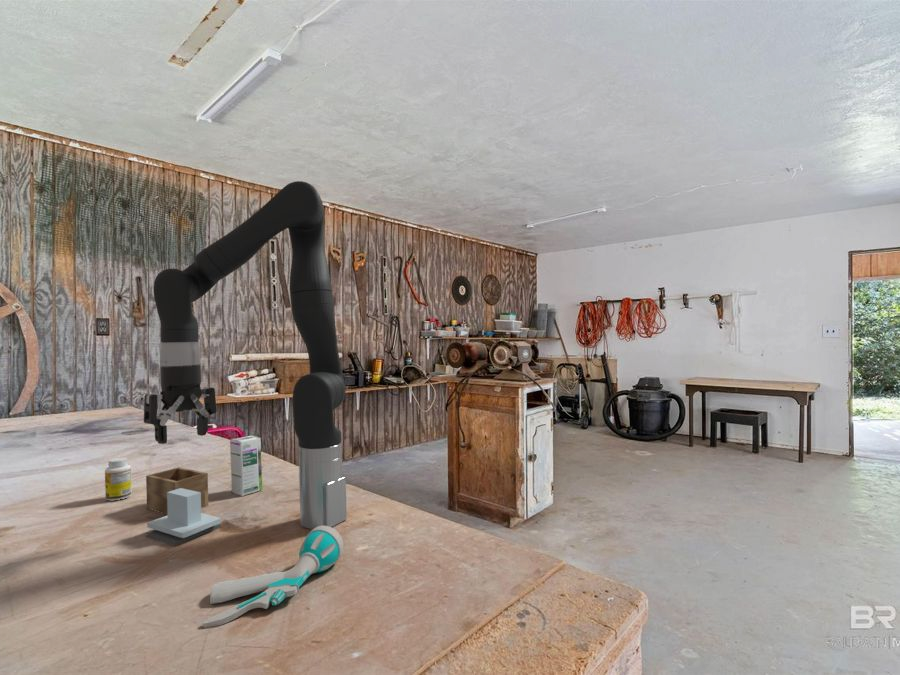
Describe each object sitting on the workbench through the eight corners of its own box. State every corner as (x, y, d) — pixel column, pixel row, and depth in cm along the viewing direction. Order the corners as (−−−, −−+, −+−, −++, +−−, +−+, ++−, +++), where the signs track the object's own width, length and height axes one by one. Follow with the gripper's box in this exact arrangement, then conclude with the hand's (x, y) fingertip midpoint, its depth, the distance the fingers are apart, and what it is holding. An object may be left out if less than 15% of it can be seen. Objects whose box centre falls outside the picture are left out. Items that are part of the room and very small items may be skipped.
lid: (221, 526, 98) (220, 490, 98) (183, 542, 91) (182, 503, 91) (186, 516, 104) (185, 482, 104) (147, 531, 97) (146, 494, 97)
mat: (221, 526, 99) (221, 524, 99) (175, 545, 91) (175, 542, 91) (193, 518, 104) (193, 516, 104) (146, 536, 95) (146, 533, 95)
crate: (208, 505, 113) (207, 473, 113) (175, 516, 106) (175, 482, 106) (179, 497, 118) (178, 467, 118) (146, 508, 111) (146, 475, 111)
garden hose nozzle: (192, 605, 64) (337, 573, 68) (227, 539, 81) (341, 517, 85) (201, 651, 65) (343, 617, 69) (234, 576, 82) (346, 552, 86)
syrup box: (242, 496, 118) (241, 441, 118) (230, 492, 122) (229, 438, 122) (262, 490, 123) (261, 437, 123) (251, 486, 126) (249, 434, 126)
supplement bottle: (109, 496, 121) (108, 458, 121) (134, 493, 123) (133, 455, 123) (102, 503, 116) (101, 463, 116) (128, 499, 118) (127, 460, 118)
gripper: (156, 366, 89) (158, 448, 89) (222, 361, 102) (224, 433, 102) (135, 365, 93) (137, 445, 93) (201, 361, 105) (203, 431, 105)
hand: (182, 439), depth 97 cm, fingers open, 8 cm apart
